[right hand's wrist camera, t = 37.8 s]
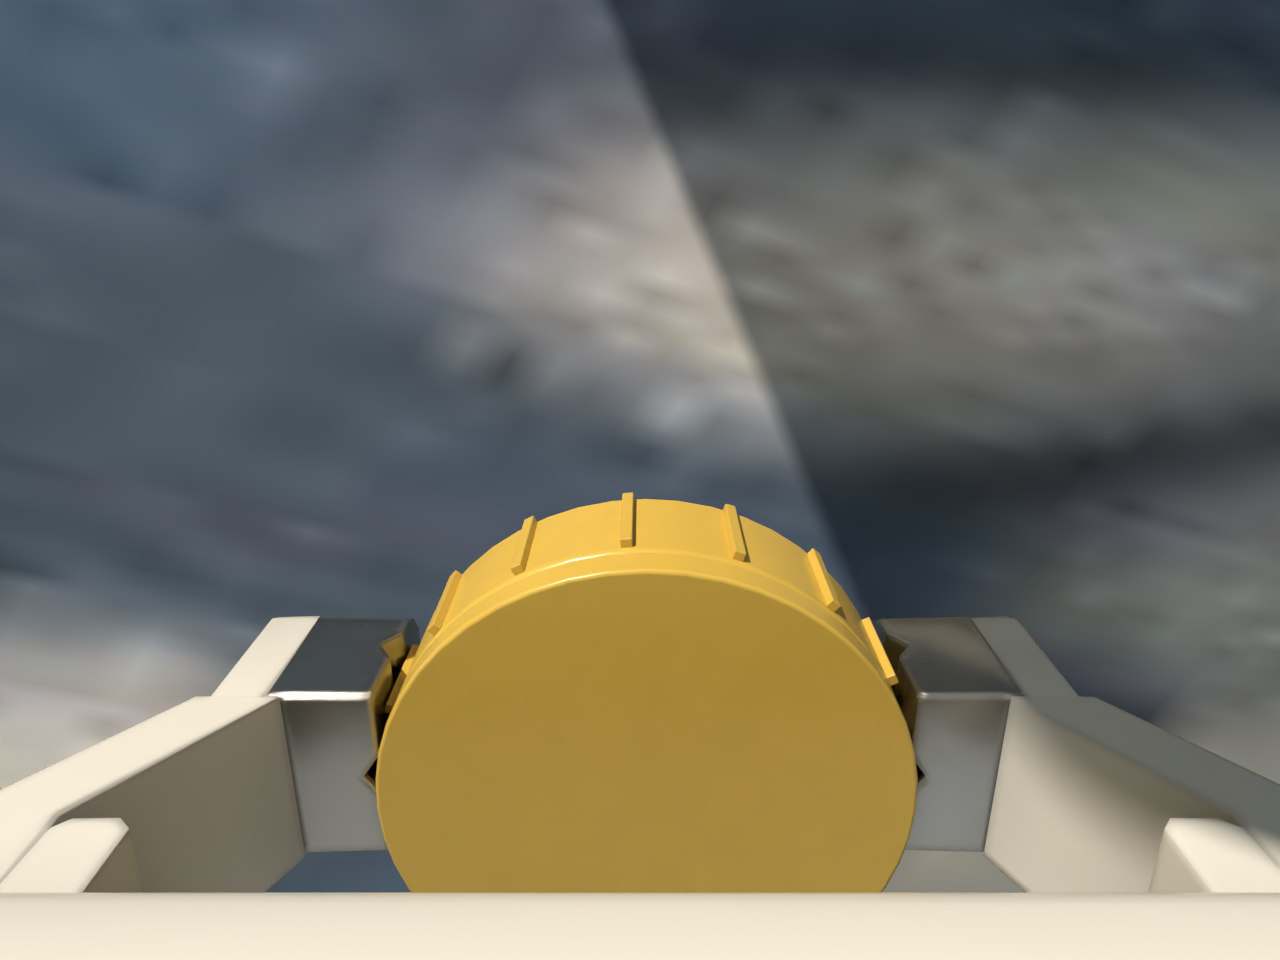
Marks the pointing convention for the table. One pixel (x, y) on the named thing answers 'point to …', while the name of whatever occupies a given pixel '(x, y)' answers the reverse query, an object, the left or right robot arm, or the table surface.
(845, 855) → the lid
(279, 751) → the right robot arm
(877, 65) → the table surface
